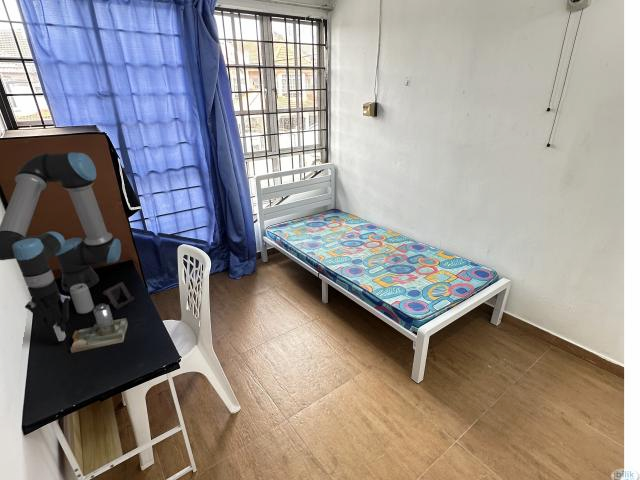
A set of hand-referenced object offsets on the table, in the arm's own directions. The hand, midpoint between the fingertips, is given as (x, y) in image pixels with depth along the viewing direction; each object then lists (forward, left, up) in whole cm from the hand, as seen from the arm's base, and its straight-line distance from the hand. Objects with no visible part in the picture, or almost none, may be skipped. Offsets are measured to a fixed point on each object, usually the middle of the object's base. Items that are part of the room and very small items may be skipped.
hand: (62, 338), depth 122 cm
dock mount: (0, +12, -3) cm, 12 cm away
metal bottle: (0, +15, -1) cm, 15 cm away
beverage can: (-23, +2, -3) cm, 23 cm away
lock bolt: (0, +6, -1) cm, 6 cm away
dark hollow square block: (-24, +15, -3) cm, 28 cm away
